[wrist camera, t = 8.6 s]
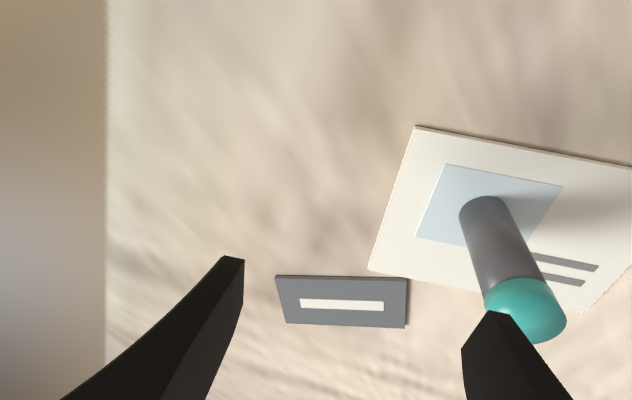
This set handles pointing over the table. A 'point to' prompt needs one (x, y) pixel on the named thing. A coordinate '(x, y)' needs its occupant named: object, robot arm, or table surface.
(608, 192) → the paper
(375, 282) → the plate
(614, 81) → the table surface
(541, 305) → the marker
